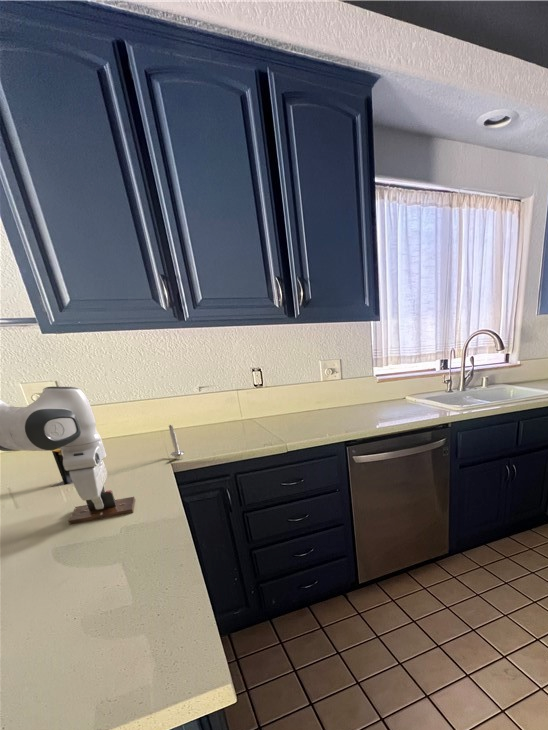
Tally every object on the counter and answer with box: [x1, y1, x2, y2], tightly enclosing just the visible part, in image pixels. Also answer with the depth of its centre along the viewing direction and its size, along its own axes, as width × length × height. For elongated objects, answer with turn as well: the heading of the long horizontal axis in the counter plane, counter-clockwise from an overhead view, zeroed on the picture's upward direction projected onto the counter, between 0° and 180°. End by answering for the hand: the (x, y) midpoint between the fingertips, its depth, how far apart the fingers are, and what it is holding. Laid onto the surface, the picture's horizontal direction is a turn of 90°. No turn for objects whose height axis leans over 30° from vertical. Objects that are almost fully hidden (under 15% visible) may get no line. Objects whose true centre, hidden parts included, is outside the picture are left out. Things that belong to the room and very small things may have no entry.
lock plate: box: [68, 496, 136, 526], centre depth 112 cm, size 14×10×3 cm
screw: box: [168, 424, 185, 461], centre depth 159 cm, size 13×5×5 cm
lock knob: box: [85, 489, 116, 511], centre depth 111 cm, size 6×2×4 cm, turn 115°
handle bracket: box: [50, 448, 74, 488], centre depth 137 cm, size 11×9×13 cm
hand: (101, 504), depth 111 cm, fingers open, 5 cm apart
